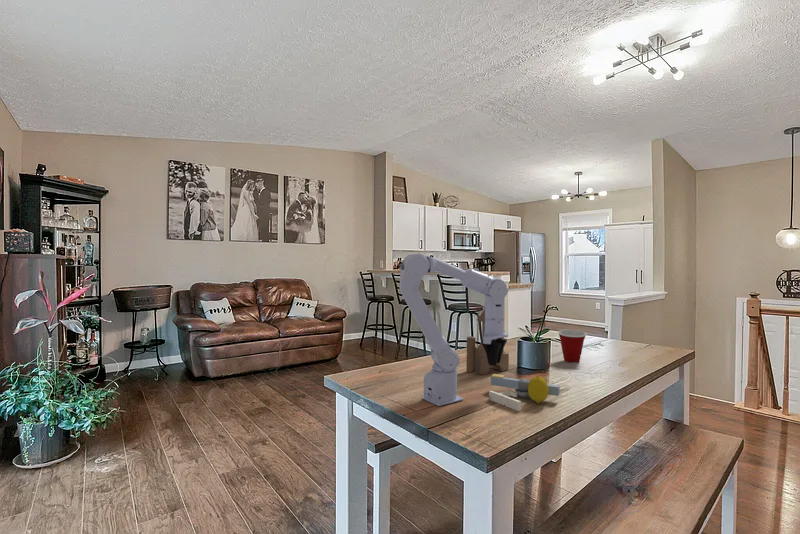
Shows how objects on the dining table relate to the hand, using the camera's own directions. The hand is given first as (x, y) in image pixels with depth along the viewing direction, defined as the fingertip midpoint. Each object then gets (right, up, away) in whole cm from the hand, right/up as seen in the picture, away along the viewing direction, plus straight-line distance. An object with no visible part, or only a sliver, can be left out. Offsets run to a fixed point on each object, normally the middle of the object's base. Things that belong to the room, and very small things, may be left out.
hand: (494, 363), depth 123 cm
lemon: (+11, -10, -5) cm, 16 cm away
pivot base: (+9, -10, +1) cm, 14 cm away
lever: (+9, -8, +1) cm, 12 cm away
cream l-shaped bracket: (+5, -10, -4) cm, 12 cm away
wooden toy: (+4, -10, +29) cm, 31 cm away
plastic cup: (+41, -9, +43) cm, 60 cm away
